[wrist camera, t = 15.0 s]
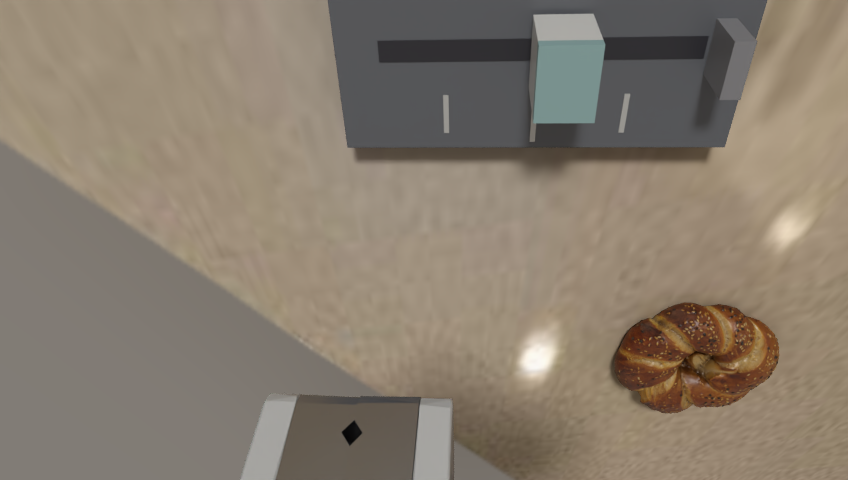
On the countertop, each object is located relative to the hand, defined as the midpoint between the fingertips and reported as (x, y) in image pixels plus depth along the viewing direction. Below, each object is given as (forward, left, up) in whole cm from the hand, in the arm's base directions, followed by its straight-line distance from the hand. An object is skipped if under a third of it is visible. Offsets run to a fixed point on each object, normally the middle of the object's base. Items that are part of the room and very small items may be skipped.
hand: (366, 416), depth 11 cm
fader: (+6, -5, -26) cm, 28 cm away
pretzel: (+19, -30, -29) cm, 46 cm away
